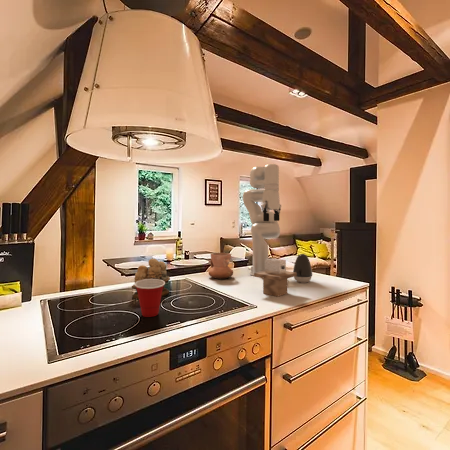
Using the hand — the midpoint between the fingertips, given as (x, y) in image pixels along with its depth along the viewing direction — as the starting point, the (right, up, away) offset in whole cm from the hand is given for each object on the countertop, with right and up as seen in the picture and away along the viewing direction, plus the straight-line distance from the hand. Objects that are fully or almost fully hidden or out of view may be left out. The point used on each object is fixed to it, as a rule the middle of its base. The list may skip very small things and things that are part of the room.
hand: (271, 220), depth 150 cm
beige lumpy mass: (-58, -34, -20) cm, 70 cm away
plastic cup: (-52, -35, -46) cm, 78 cm away
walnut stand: (-1, -34, -18) cm, 38 cm away
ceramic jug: (-27, -33, +17) cm, 46 cm away
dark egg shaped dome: (+18, -33, +5) cm, 38 cm away
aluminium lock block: (-1, -24, -18) cm, 30 cm away
